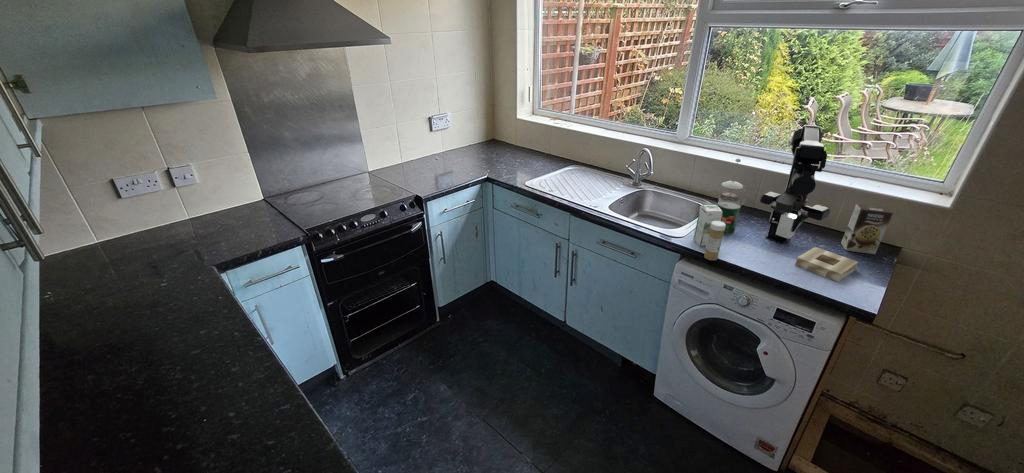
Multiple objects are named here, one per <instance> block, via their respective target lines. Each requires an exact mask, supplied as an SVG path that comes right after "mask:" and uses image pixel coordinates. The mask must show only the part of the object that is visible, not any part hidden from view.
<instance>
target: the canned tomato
mask: <svg viewBox="0 0 1024 473" xmlns="http://www.w3.org/2000/svg"><path fill="white" fill-rule="evenodd" d="M717 205H718V207H719V208H720V209H721V210H722V211H723V213H722V217H721V222H723V223H725V224H726V226H725V230H724V233H723V235H727V236H729V235H733V234H735V230H736V228H737V227H736V226H737V223H738V218H739V214H740V211H741V208H742V207H741V206H742V205H741V204H737V203H735V202H731V201H730V200H726V201H720V202H719V203H718V202H717ZM740 205H741V206H740Z"/></svg>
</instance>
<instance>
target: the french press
mask: <svg viewBox="0 0 1024 473" xmlns="http://www.w3.org/2000/svg"><path fill="white" fill-rule="evenodd" d="M734 161H735V163H737V164H736V168H735V172H734V176H733V180H727V181H724V182H722V183H721V186H722V187H723V188H725V189H728V190H730V191H721V192H720V195H719V196H718V201H717V205H716V206H718V203H719V202H720V201H731V202H735V203H737V204H739V205H740V206H743V205H744V204H746V202H747V200H748V198H749V195H748V191H747V190H745V189H744V188H743V187H744V185H743V184H742V183H740V182H738V181H735V177H736V173H737V168H738V163H741V162H742V161H741V159H740V158H736V159H735V160H734ZM733 190H734V191H735V190H737V191H738V190H739V192H740V193H743V192H744V193H745V197H744V199H743V200H742V201H741V202H740V200H741V199H740V194H739V193H738V192H733Z"/></svg>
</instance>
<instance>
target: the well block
mask: <svg viewBox="0 0 1024 473" xmlns="http://www.w3.org/2000/svg"><path fill="white" fill-rule="evenodd" d="M858 263H859V261H856V260H854V259H851V258H848V257H846V256H842V255H840V254H837V253H835V252H831V251H829V250H825V249H822V248H820V247H817V246H815V247H812V248H811V249H810V250H807V251H806V252H805V253H802V254H801V255H799V256H797V258H796V261H795V264H794V266H796V267H799V268H801V269H804V270H806V271H809V272H811V273H814V274H816V275H819V276H821V277H824V278H826V279H829V280H831V281H835V282H837V283H839V282H840V281H842V280H843V279H845V278H846V277H847V276H849V275H850V274H851V273H853V272H854V271H856V269H857V266H858Z"/></svg>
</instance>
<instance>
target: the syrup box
mask: <svg viewBox="0 0 1024 473" xmlns="http://www.w3.org/2000/svg"><path fill="white" fill-rule="evenodd" d="M698 212H699V213H698V215H697V216H698V217H697V221H696V224H695V225H696V226H695V231H694V236H693V240H694V241H695V242H694V243H696V244H697V245H698V246H699V247H706V245H707V241H708V237H709V233H710V226H711V222H713V221H721V217H722V213H723V211H722V210H721V209H720V208H719V207H718V206H717V205H716V204H706V205H705V204H702V205H700V207H699V211H698Z"/></svg>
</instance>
